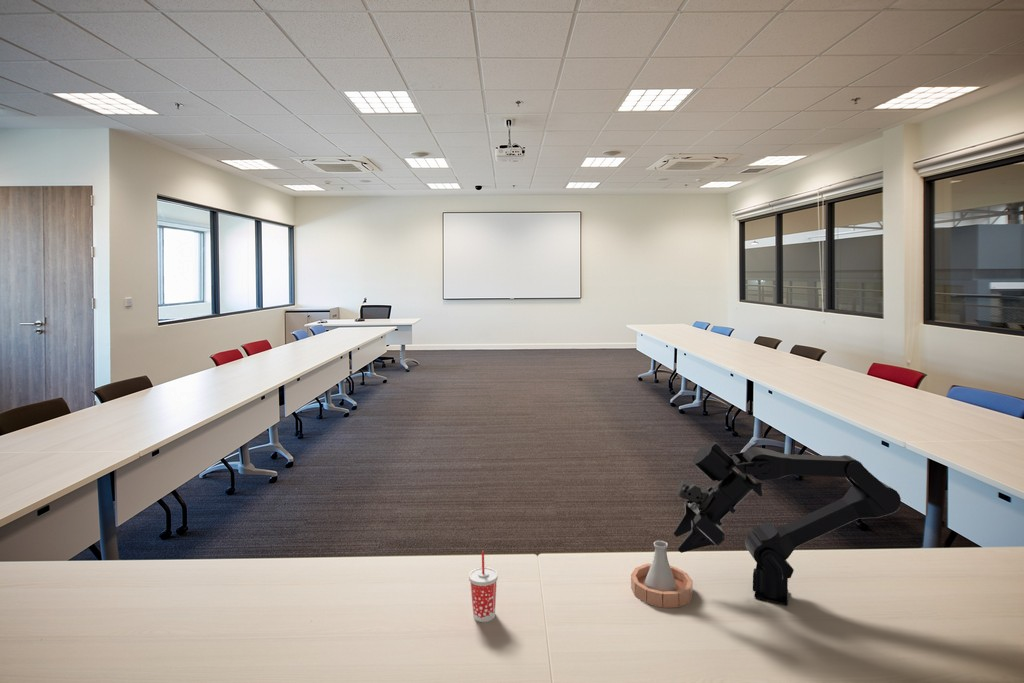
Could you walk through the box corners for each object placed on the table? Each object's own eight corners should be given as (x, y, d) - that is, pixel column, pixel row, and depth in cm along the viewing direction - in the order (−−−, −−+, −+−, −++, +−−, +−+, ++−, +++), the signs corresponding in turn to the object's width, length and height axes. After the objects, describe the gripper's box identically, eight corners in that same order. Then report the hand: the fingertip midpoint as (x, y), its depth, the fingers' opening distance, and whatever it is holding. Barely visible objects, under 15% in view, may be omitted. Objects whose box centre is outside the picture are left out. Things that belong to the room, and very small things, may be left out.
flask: (673, 598, 115) (673, 554, 114) (640, 590, 118) (640, 547, 117) (680, 582, 121) (680, 540, 120) (648, 575, 125) (648, 534, 124)
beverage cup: (482, 603, 116) (480, 542, 115) (504, 613, 112) (503, 549, 111) (463, 617, 111) (462, 553, 110) (486, 627, 107) (485, 561, 106)
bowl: (696, 583, 122) (696, 571, 122) (685, 613, 111) (685, 599, 111) (640, 571, 128) (640, 559, 128) (624, 598, 117) (624, 585, 117)
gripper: (692, 458, 127) (647, 504, 129) (705, 479, 109) (652, 532, 111) (729, 492, 125) (682, 537, 128) (747, 518, 107) (693, 571, 109)
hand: (677, 542), depth 119 cm, fingers open, 9 cm apart
